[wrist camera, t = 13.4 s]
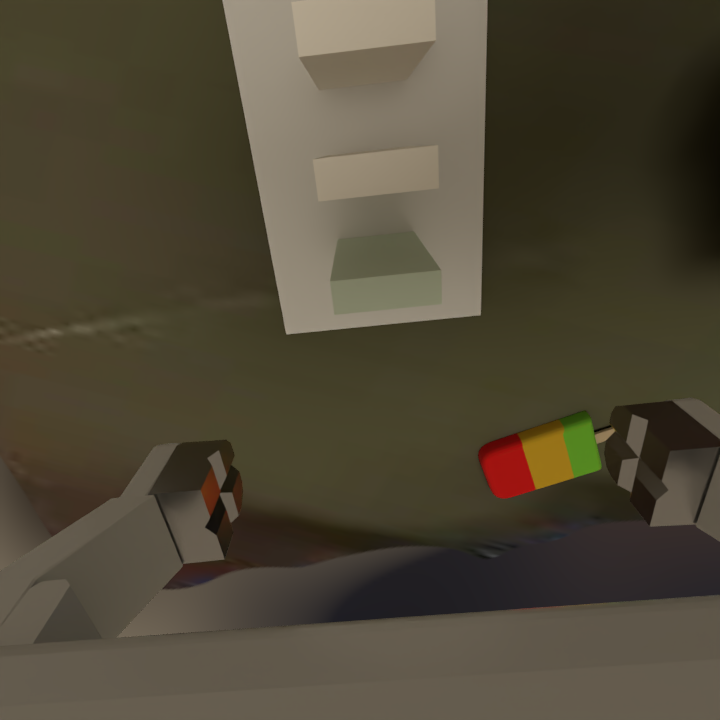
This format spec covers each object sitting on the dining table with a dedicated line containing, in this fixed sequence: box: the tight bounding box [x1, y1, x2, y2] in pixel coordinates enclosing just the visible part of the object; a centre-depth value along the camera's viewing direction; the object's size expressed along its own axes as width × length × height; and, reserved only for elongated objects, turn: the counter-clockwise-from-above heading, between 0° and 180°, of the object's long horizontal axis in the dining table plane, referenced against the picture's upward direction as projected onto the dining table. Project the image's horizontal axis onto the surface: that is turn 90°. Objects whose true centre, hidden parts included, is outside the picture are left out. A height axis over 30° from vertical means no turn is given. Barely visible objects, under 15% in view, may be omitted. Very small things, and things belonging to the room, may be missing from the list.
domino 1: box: [291, 0, 436, 90], centre depth 20 cm, size 2×5×10 cm, turn 96°
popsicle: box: [478, 411, 615, 498], centre depth 36 cm, size 6×15×2 cm, turn 113°
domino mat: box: [223, 0, 488, 334], centre depth 25 cm, size 29×14×1 cm, turn 6°
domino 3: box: [330, 231, 442, 315], centre depth 24 cm, size 2×5×10 cm, turn 96°
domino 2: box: [313, 145, 439, 202], centre depth 22 cm, size 2×5×10 cm, turn 96°
